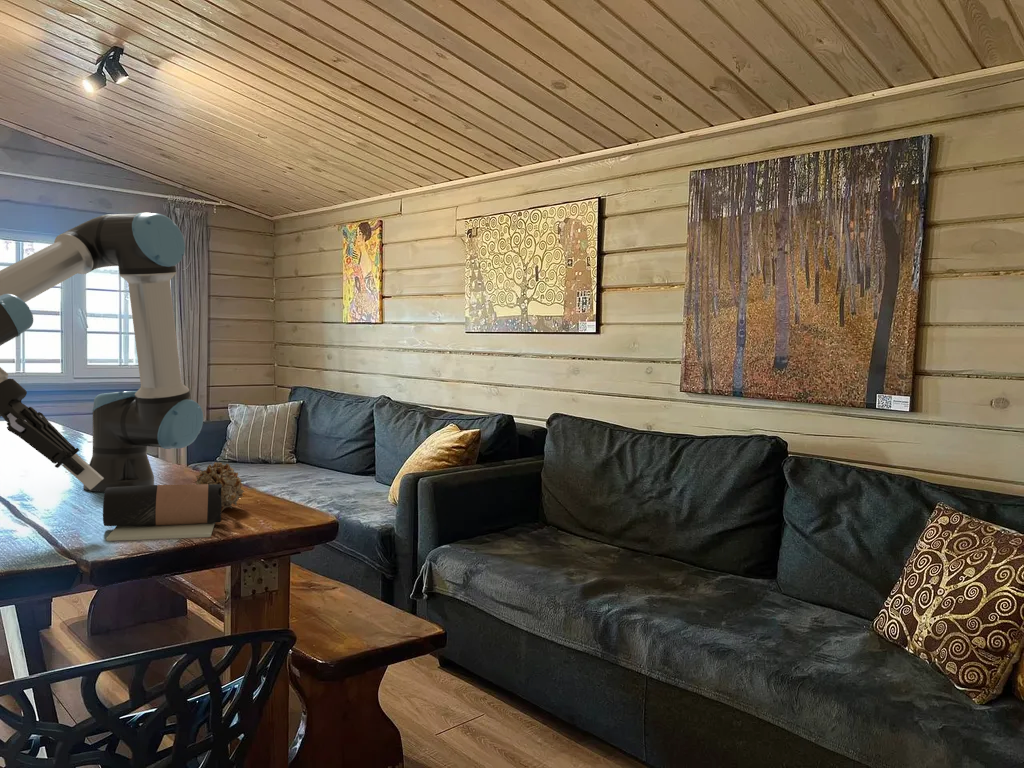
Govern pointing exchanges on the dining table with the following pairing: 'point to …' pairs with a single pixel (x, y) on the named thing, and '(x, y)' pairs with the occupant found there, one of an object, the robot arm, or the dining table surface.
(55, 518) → the dining table surface
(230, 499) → the pine cone
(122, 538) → the mug mat
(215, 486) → the travel mug
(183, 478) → the dining table surface
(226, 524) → the dining table surface
